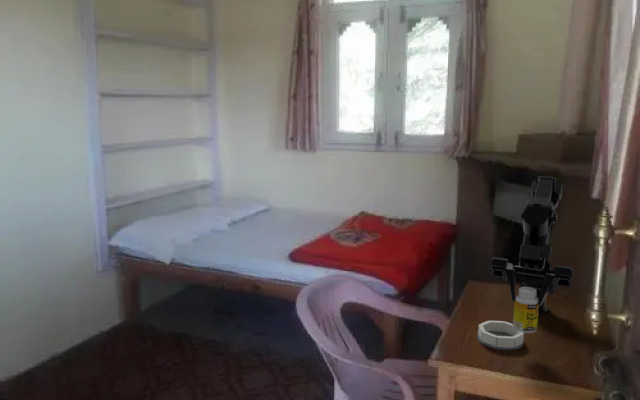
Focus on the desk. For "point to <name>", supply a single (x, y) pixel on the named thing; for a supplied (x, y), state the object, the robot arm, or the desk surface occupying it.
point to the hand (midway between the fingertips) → (526, 303)
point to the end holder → (500, 335)
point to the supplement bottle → (526, 310)
